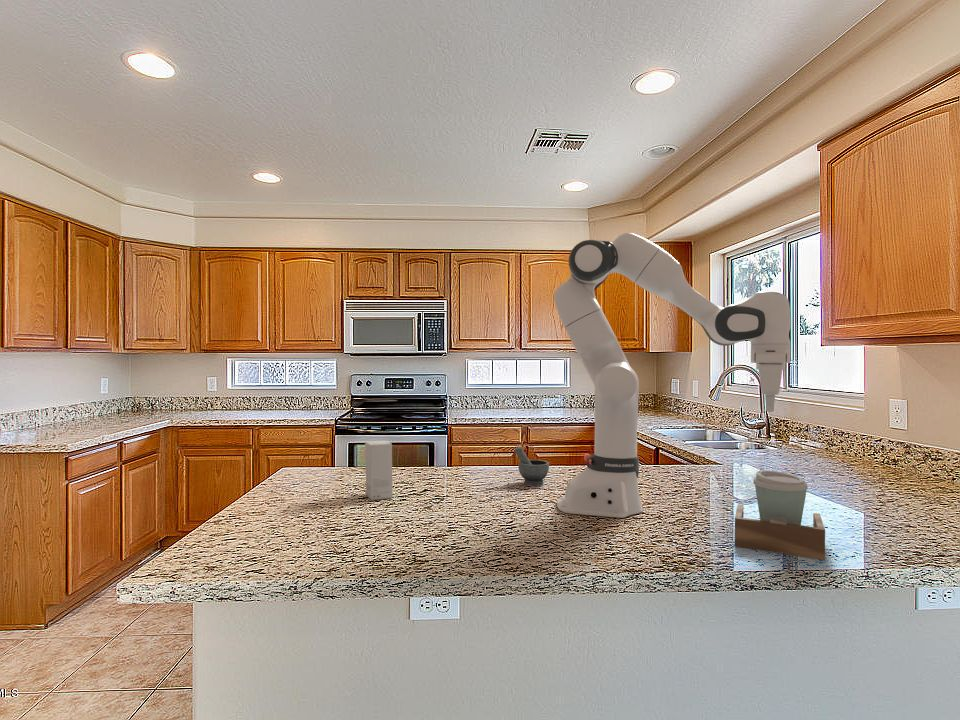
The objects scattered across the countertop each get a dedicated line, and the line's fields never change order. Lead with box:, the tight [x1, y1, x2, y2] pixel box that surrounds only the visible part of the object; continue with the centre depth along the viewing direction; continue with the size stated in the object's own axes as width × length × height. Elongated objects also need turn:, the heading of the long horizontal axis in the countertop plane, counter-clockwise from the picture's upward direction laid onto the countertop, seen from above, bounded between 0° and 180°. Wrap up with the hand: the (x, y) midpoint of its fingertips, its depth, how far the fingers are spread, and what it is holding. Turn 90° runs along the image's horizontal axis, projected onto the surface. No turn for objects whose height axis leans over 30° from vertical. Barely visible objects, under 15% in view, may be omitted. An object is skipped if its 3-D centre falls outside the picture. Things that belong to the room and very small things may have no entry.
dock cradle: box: [734, 503, 826, 561], centre depth 119 cm, size 13×16×7 cm
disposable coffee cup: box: [752, 469, 809, 525], centre depth 119 cm, size 11×11×15 cm
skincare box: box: [364, 440, 394, 501], centre depth 157 cm, size 8×7×16 cm
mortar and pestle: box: [514, 445, 550, 487], centre depth 174 cm, size 11×9×12 cm
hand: (769, 411), depth 137 cm, fingers closed
